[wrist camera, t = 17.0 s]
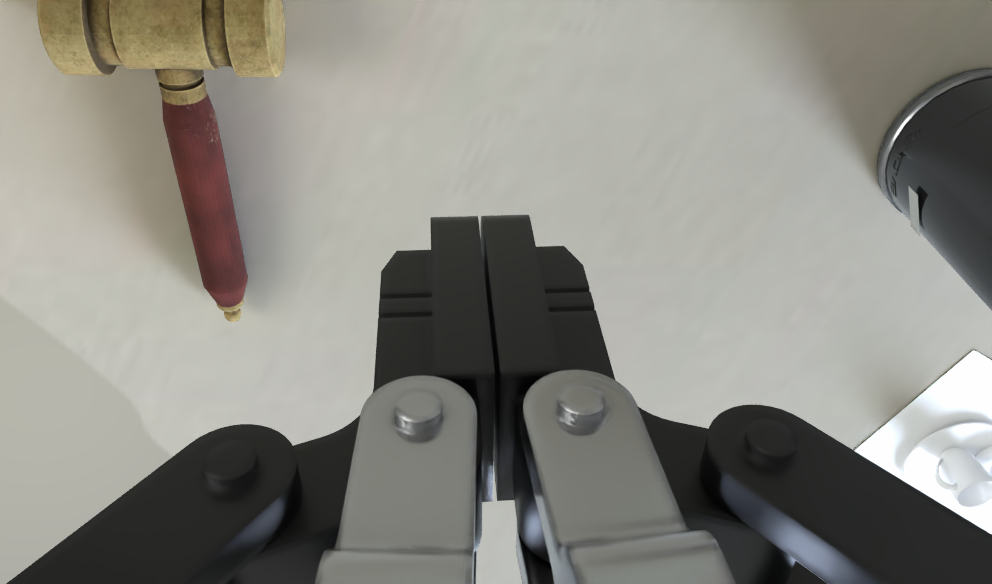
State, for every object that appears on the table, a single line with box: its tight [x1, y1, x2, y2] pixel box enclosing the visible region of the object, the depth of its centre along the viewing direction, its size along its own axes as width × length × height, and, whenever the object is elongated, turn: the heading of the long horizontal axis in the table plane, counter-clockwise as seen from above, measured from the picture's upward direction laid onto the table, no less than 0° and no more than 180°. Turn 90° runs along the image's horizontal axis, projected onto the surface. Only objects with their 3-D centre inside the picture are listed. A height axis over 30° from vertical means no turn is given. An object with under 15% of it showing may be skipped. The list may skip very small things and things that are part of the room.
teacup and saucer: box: [902, 421, 992, 509], centre depth 63 cm, size 9×8×4 cm
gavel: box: [37, 0, 285, 322], centre depth 43 cm, size 21×5×10 cm
